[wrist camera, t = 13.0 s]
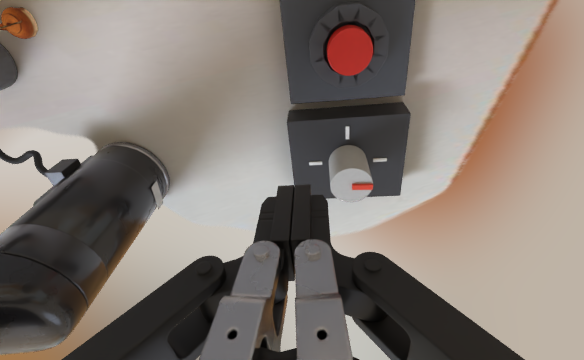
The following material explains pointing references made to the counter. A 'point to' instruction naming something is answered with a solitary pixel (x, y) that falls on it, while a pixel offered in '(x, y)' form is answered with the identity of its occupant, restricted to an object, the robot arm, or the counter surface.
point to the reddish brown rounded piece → (18, 22)
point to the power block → (317, 31)
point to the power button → (349, 50)
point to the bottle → (6, 69)
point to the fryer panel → (349, 131)
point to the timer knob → (349, 174)
